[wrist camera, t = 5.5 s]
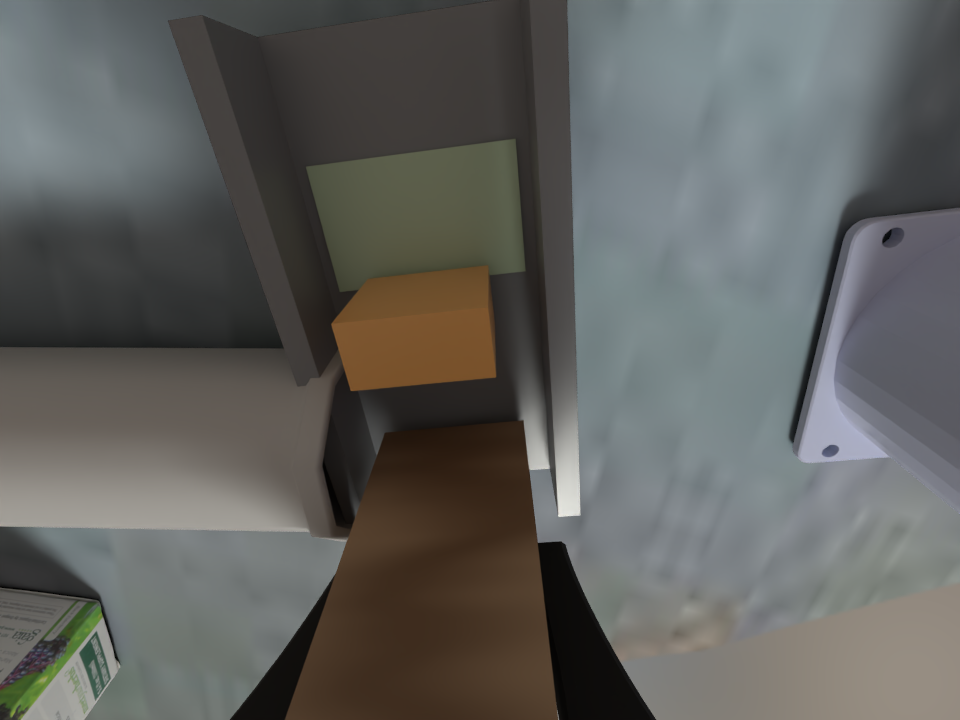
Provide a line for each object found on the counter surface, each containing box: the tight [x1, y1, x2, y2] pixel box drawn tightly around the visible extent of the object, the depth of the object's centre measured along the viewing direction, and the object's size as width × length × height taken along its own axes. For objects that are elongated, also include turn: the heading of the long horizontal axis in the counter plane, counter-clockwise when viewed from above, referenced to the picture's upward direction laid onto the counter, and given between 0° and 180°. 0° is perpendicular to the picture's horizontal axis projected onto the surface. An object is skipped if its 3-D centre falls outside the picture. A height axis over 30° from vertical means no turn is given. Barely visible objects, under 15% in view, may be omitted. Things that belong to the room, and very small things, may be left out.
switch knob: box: [331, 265, 496, 391], centre depth 10 cm, size 2×3×3 cm, turn 97°
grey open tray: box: [168, 0, 580, 524], centre depth 12 cm, size 12×7×4 cm, turn 7°
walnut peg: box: [285, 420, 558, 720], centre depth 10 cm, size 4×4×8 cm
